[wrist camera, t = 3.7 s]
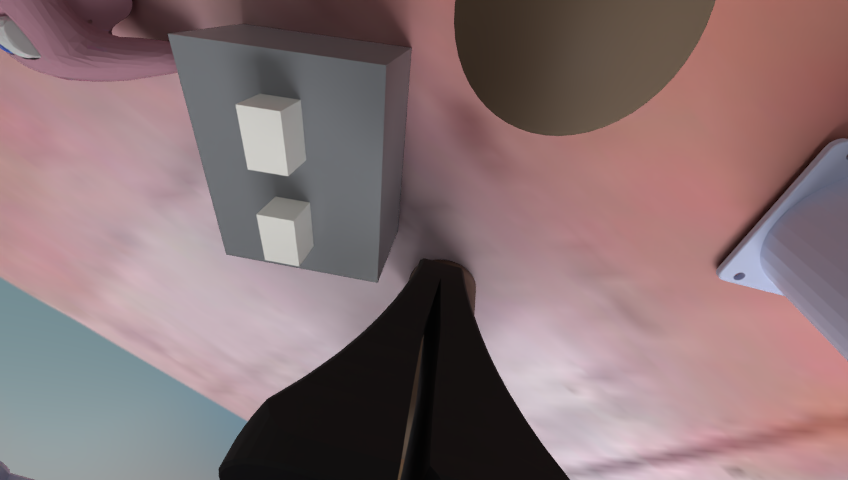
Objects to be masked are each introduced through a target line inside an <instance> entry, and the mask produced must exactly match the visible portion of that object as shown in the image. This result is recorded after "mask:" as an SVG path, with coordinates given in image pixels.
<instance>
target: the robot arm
mask: <svg viewBox="0 0 848 480" xmlns="http://www.w3.org/2000/svg"><path fill="white" fill-rule="evenodd" d="M847 155H848V139H846V138H840V139H836V140H834V141H832V142H830V143H829V144H828V145H826V146H825V147H824V148H823V150H822V151H821V152H820V153H819V154H818V155H817V156H816V157H815V159H814V160H813V161H812V162H811V163H810V164H809V165H808V166H807V168H806V169H805V170H804V171H803V172H802V173H801V174H800V176H799V177H798V178H797V179H796V180H795V181H794V182H793V183H792V185H791V186H790V187H789V188H788V189H787V190H786V191H785V192H784V194H783V195H782V196H781V197H780V198H779V199H778V200H777V201H776V203H775V204H774V205H773V206H772V207H771V208H770V209H769V211H768V212H767V213H766V214H765V215H764V216H763V217H762V218H761V220H760V221H759V222H758V223H757V224H756V225H755V226H754V227H753V229H752V230H751V231H750V232H749V233H748V234H747V235H746V236H745V238H744V239H743V240H742V241H741V242H740V243H739V244H738V246H737V247H736V248H735V249H734V250H733V251H732V252H731V253H730V255H729V256H728V257H727V258H726V259H725V260H724V261H723V262H722V264H721V265H720V266H719V267H718V268H717V270H716V274H717V275H718V277H719V278H720V279H721V280H724V281H728V282H732V283H736V284H740V285H744V286H747V287H751V288H755V289H759V290H763V291H767V292H771V293H775V294H779V295H783V296H786V297H787V298H788V300H789V301H790V302H791V303H792V304H793V305H794V306H795V307H796V308H797V309H798V310H799V311H800V312H801V313H802V314H803V315H804V316H805V317H806V318H807V319H808V320H809V321H810V322H811V323H812V324H813V326H814V327H815V328H816V329H817V330H818V331H819V332H820V333H821V334H822V335H823V336H824V337H825V338H826V339H827V340H828V341H829V342H830V343H831V344H832V345H833V346H834V347H835V348H836V349H837V350H838V352H839V353H840V354H841V355H842V356H843V357H844V358H845V359H846V360H847V361H848V157H846V156H847ZM737 273H740V274H738V275H735V274H737ZM734 275H735V276H734ZM423 335H424V336H423ZM422 338H423V345H422V354H421V363H420V372H419V381H418V390H417V398H416V405H415V411H414V416H413V421H412V426H411V431H410V436H409V441H408V446H407V450H406V455H405V460H404V465H403V469H402V474H401V479H400V480H570V479H569V478H568V477H567V475H566V474H565V473H564V471H563V470H562V469H561V468H560V466H559V465H558V464H557V462H556V461H555V460H554V459H553V457H552V456H551V455H550V453H549V452H548V451H547V450H546V448H545V447H544V446H543V444H542V443H541V441H540V440H539V439H538V437H537V436H536V434H535V433H534V431H533V430H532V428H531V427H530V425H529V424H528V423H527V421H526V419H525V418H524V416H523V415H522V413H521V411H520V410H519V408H518V406H517V405H516V403H515V402H514V400H513V398H512V397H511V395H510V393H509V392H508V390H507V388H506V386H505V385H504V383H503V381H502V379H501V377H500V375H499V373H498V371H497V369H496V367H495V365H494V363H493V361H492V359H491V357H490V355H489V353H488V350H487V348H486V346H485V343H484V341H483V338H482V336H481V333H480V331H479V328H478V325H477V323H476V320H475V317H474V313H473V310H472V307H471V304H470V300H469V297H468V293H467V289H466V284H465V279H464V272H463V270H462V268H460V267H456V266H452V265H448V264H444V263H440V262H436V261H432V260H428V259H422V260H420V263H419V265H418V267H417V269H416V271H415V273H414V274H413V276H412V277H411V279H410V280H409V282H408V283H407V284H406V286H405V287H404V288H403V290H402V291H401V292H400V293H399V295H398V296H397V297H396V299H395V300H394V301H393V302H392V303H391V304H390V305H389V306H388V307H387V309H386V310H385V311H384V312H383V313H382V314H381V315H380V316H379V317H378V318H377V319H376V320H375V321H374V322H373V323H372V324H371V325H370V326H369V327H368V328H367V329H366V330H365V331H364V332H363V333H361V334H360V335H359V336H358V337H357V338H356V339H354V340H353V341H352V342H351V343H350V344H348V345H347V346H346V347H345V348H344V349H342V350H341V351H340V352H339V353H337V354H336V355H335V356H333V357H332V358H331V359H329V360H328V361H326V362H325V363H323V364H322V365H321V366H319V367H318V368H316V369H315V370H313V371H312V372H311V373H309V374H308V375H306V376H305V377H303V378H301V379H300V380H298V381H297V382H295V383H293V384H292V385H290V386H288V387H287V388H285V389H283V390H282V391H280V392H278V393H277V394H275V395H273V396H271V397H270V398H268V399H267V400H266V401H265V402H264V403H263V404H262V405H261V406H260V408H259V409H258V410H257V411H256V412H255V413H254V415H253V416H252V417H251V418H250V420H249V421H248V422H247V424H246V425H245V426H244V428H243V429H242V431H241V432H240V433H239V435H238V436H237V438H236V439H235V441H234V443H233V444H232V446H231V448H230V450H229V451H228V453H227V455H226V457H225V459H224V460H223V462H222V464H221V465H220V467H219V478H220V480H398V475H399V470H400V465H401V459H402V452H403V446H404V439H405V433H406V427H407V420H408V414H409V408H410V402H411V396H412V390H413V385H414V379H415V373H416V368H417V362H418V357H419V351H420V346H421V341H422ZM0 480H34V479H30V478H26V477H23V476H19V475H15V474H12V473H10V470H9V469H8V467H7V466H6V465H5V464H4V463H2V462H1V461H0Z"/></svg>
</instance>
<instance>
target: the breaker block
mask: <svg viewBox="0 0 848 480" xmlns="http://www.w3.org/2000/svg"><path fill="white" fill-rule="evenodd" d="M168 37H169V41H170V45H171V48H172V52H173V56H174V60H175V63H176V67H177V71H178V75H179V78H180V82H181V86H182V90H183V93H184V97H185V101H186V105H187V108H188V112H189V116H190V120H191V123H192V127H193V131H194V135H195V139H196V142H197V146H198V150H199V154H200V157H201V161H202V165H203V169H204V172H205V176H206V180H207V184H208V187H209V191H210V195H211V199H212V202H213V206H214V210H215V214H216V217H217V221H218V225H219V229H220V232H221V236H222V240H223V244H224V247H225V251H226V254H227V255H232V256H237V257H243V258H248V259H253V260H259V261H264V262H269V263H275V264H280V265H285V266H291V267H296V268H302V269H307V270H312V271H318V272H323V273H328V274H334V275H339V276H344V277H350V278H355V279H360V280H366V281H371V282H376V283H378V280H379V277H380V275H381V272H382V270H383V267H384V265H385V262H386V260H387V257H388V255H389V252H390V250H391V247H392V245H393V242H394V240H395V237H396V235H397V232H398V222H399V209H400V195H401V182H402V169H403V156H404V143H405V130H406V117H407V104H408V91H409V77H410V64H411V51H412V48H410V47H403V46H396V45H389V44H382V43H375V42H367V41H360V40H353V39H346V38H339V37H332V36H325V35H318V34H311V33H304V32H297V31H290V30H283V29H276V28H269V27H261V26H254V25H247V24H238V25H230V26H222V27H215V28H207V29H199V30H191V31H184V32H176V33H168Z"/></svg>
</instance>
